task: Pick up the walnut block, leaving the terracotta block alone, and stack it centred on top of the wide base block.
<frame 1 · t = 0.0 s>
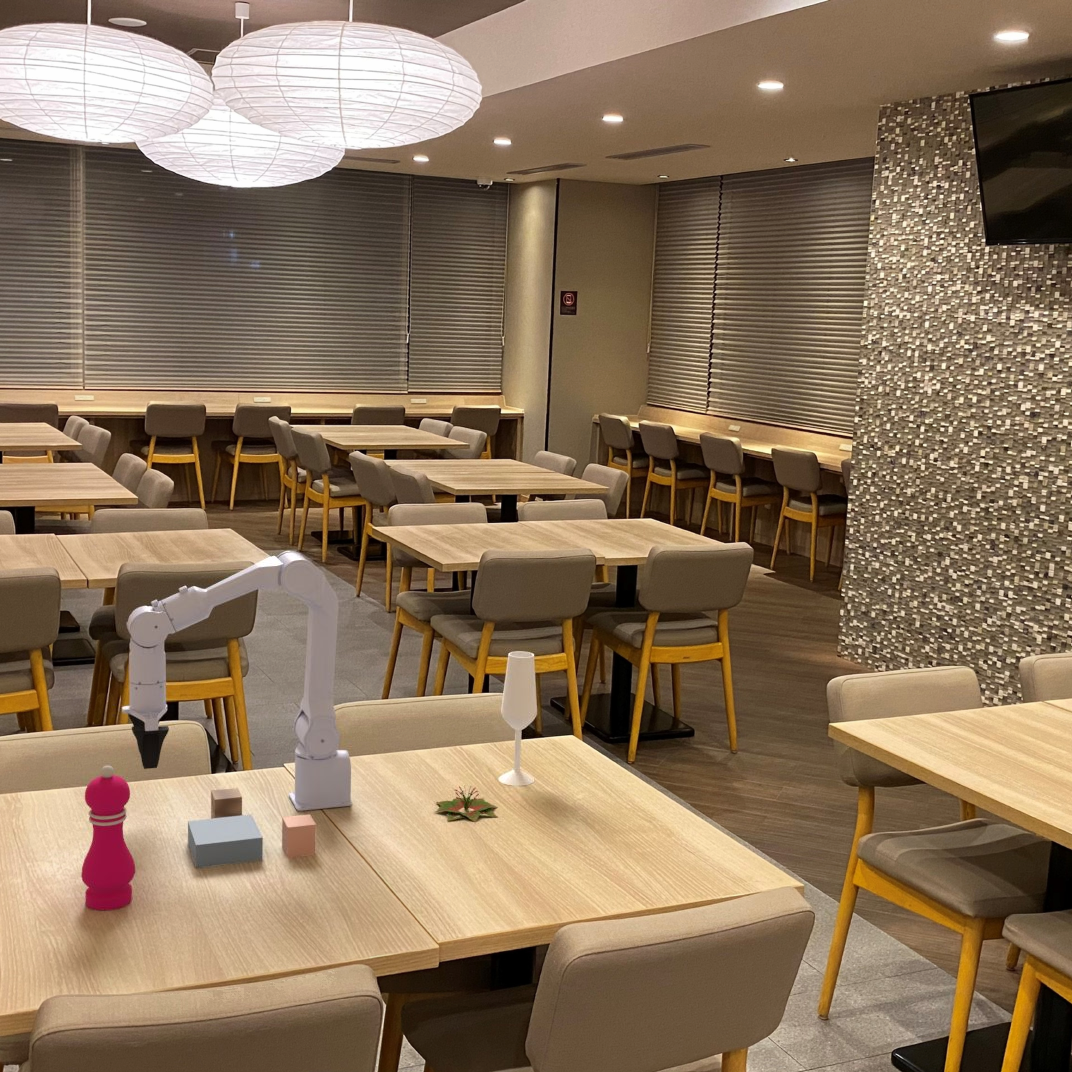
hand: (148, 760, 207), 10 cm above the table, tool pointing down, fingers open, 7 cm apart
base block: (224, 853, 196), on the table
pepper mill: (108, 902, 178), on the table
walnut block: (226, 822, 208), on the table
lily flower: (466, 814, 218), on the table
terracotta block: (298, 851, 198), on the table
champagne flute: (516, 780, 234), on the table
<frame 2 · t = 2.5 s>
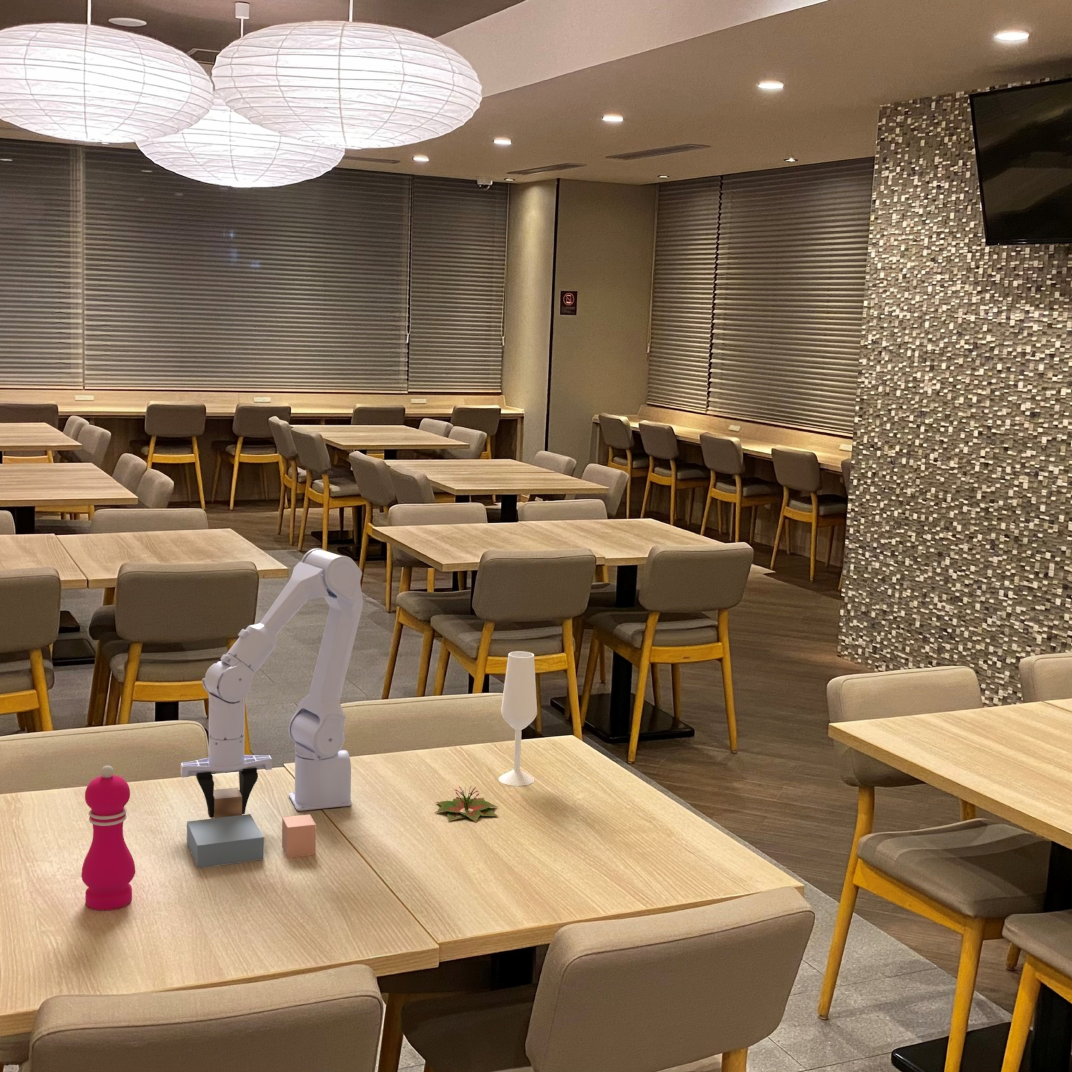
hand: (226, 813, 208), 1 cm above the table, tool pointing down, fingers closed on walnut block, 4 cm apart
walnut block: (226, 822, 208), on the table, touching gripper
everything else where it was.
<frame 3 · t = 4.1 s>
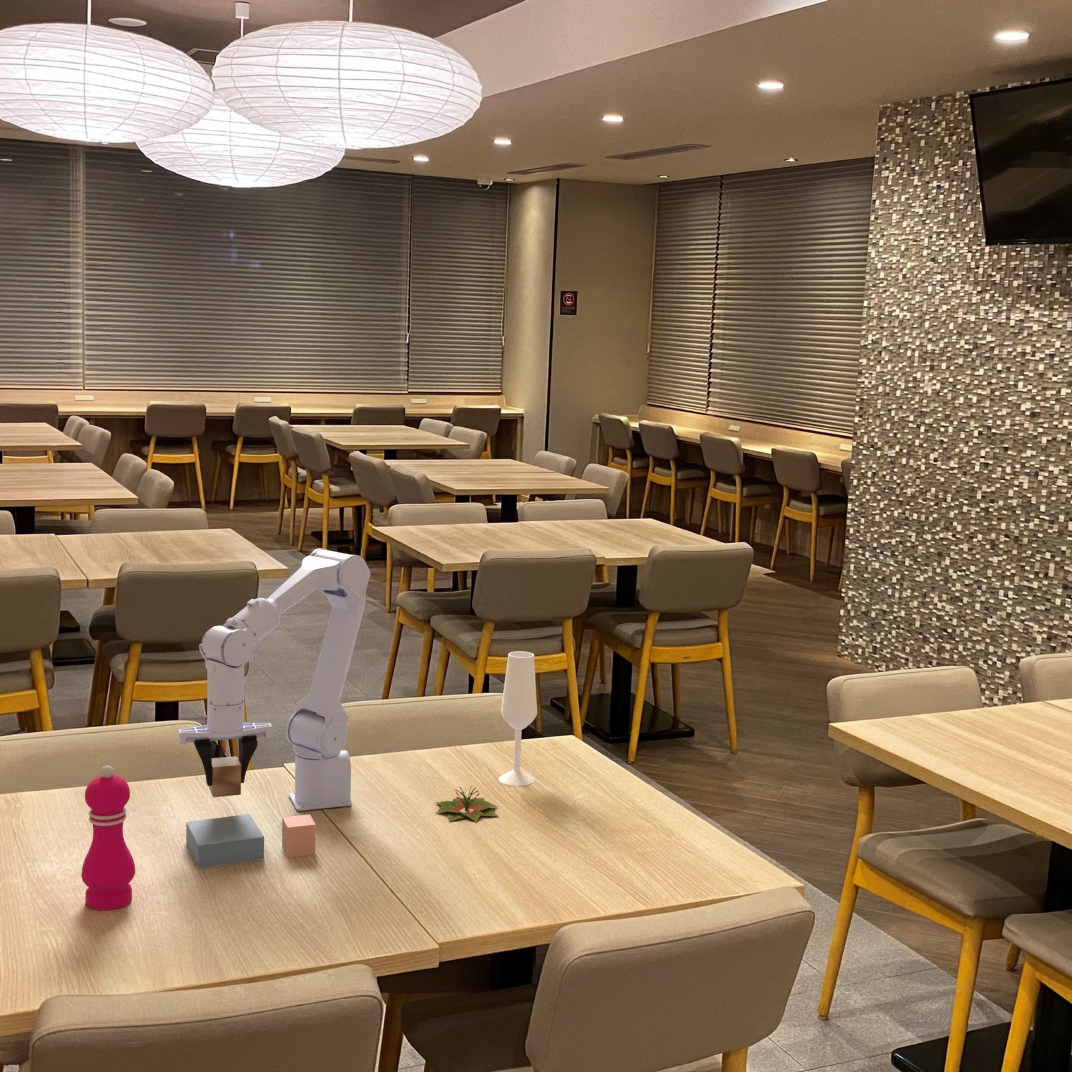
hand: (225, 782, 202), 8 cm above the table, tool pointing down, fingers closed on walnut block, 4 cm apart
walnut block: (224, 791, 203), point 7 cm above the table, touching gripper
everything else where it was.
when the fingers open (6 cm above the table, at t = 5.8 s): walnut block drops 1 cm, resting on base block.
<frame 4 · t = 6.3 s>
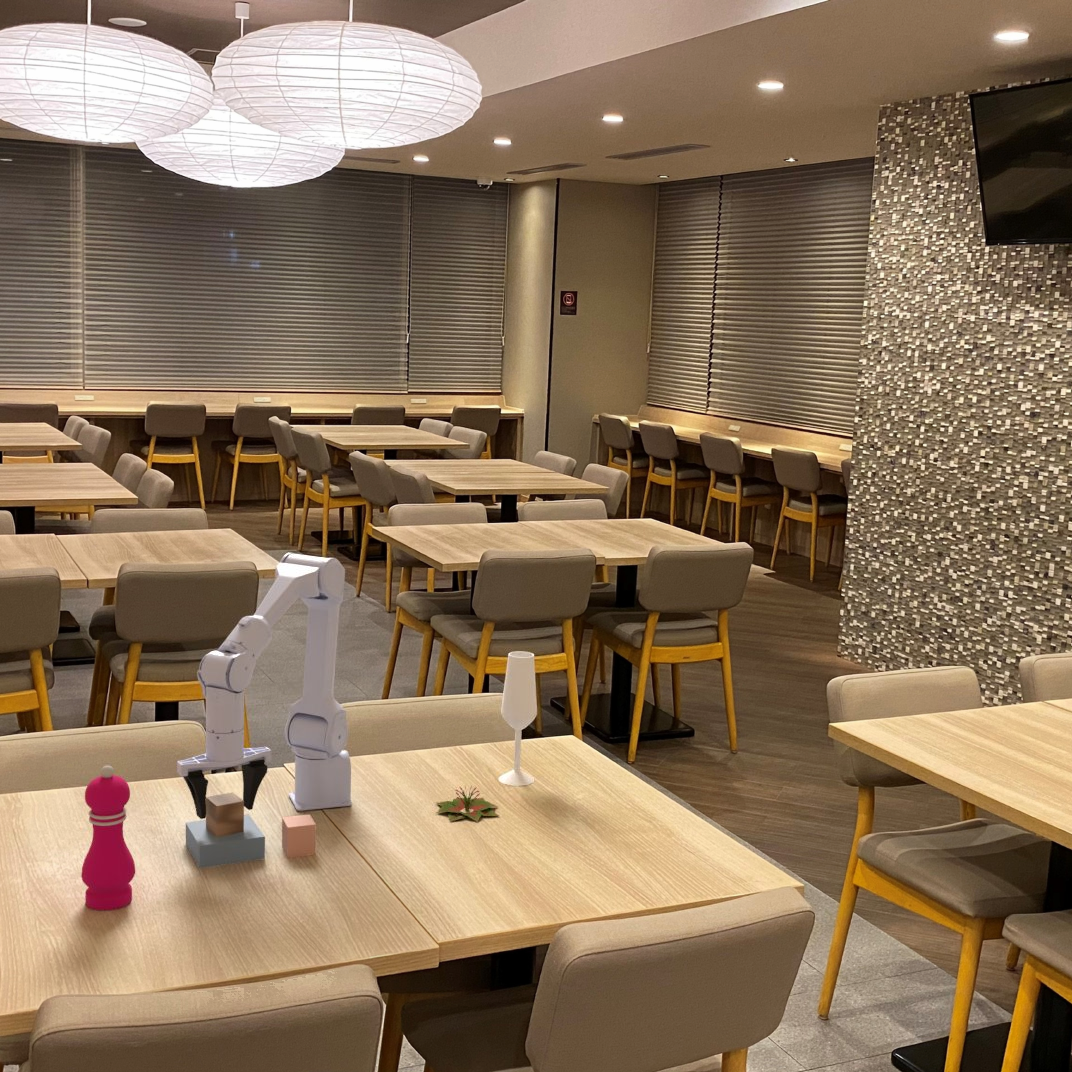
hand: (224, 812, 195), 6 cm above the table, tool pointing down, fingers open, 7 cm apart
base block: (224, 853, 196), on the table, touching walnut block
walnut block: (224, 829, 196), point 4 cm above the table, touching base block
everything else where it was.
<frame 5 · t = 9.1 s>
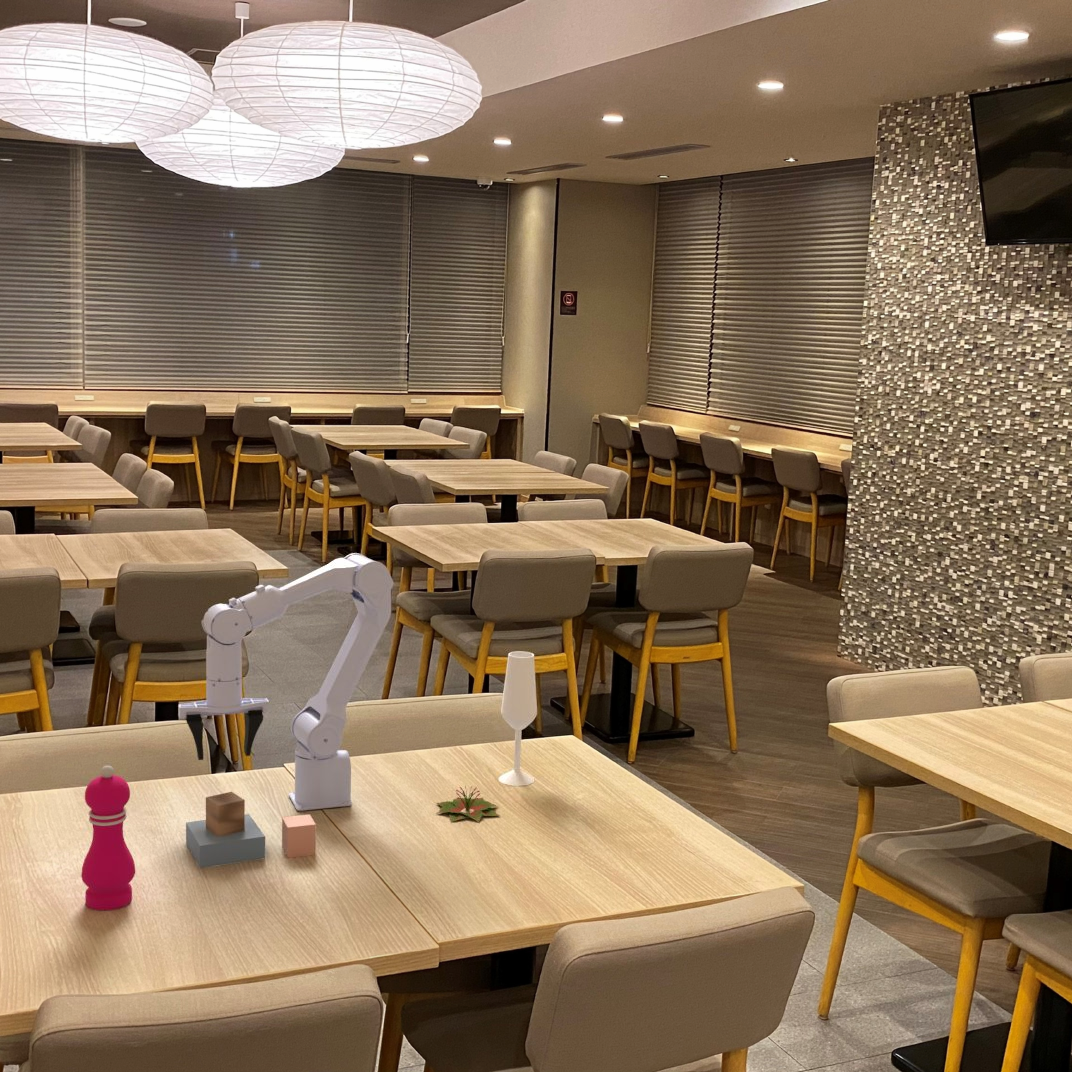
hand: (223, 756, 209), 10 cm above the table, tool pointing down, fingers open, 7 cm apart
nothing on the table moved.
at the end: walnut block 0.1 cm off-centre on the base block, point 4.0 cm above the base block's base; walnut block tilted 0°; the gripper is holding nothing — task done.
